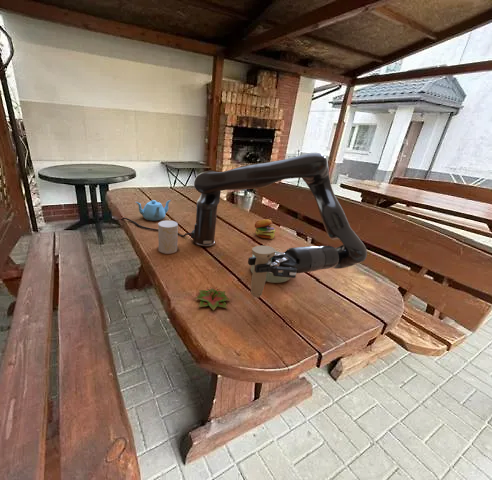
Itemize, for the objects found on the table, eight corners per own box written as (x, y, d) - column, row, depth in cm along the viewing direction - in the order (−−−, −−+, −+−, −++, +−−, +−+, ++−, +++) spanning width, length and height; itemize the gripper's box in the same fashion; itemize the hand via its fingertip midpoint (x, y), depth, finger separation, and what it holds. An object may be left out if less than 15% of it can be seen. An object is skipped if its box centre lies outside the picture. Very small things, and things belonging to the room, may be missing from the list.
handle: (269, 297, 76) (278, 252, 70) (250, 301, 74) (258, 255, 68) (260, 288, 80) (268, 244, 74) (242, 292, 78) (249, 247, 72)
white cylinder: (162, 254, 110) (161, 228, 105) (156, 246, 116) (155, 221, 111) (180, 251, 113) (180, 226, 108) (173, 244, 120) (173, 219, 115)
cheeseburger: (267, 241, 130) (266, 221, 127) (250, 239, 138) (249, 220, 135) (279, 236, 136) (278, 217, 133) (262, 234, 144) (261, 216, 141)
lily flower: (229, 290, 89) (230, 278, 88) (233, 313, 79) (234, 301, 77) (194, 288, 89) (194, 277, 87) (193, 311, 78) (193, 299, 76)
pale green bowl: (249, 280, 96) (251, 265, 94) (250, 260, 110) (252, 247, 108) (292, 286, 94) (296, 272, 92) (288, 266, 108) (291, 253, 106)
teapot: (150, 212, 159) (149, 195, 154) (172, 216, 154) (172, 199, 150) (135, 219, 146) (135, 201, 142) (159, 224, 141) (159, 206, 137)
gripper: (293, 238, 82) (243, 241, 76) (324, 259, 70) (266, 266, 64) (288, 259, 85) (239, 264, 80) (317, 283, 73) (262, 291, 67)
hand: (252, 265), depth 72 cm, fingers closed on handle, 3 cm apart
